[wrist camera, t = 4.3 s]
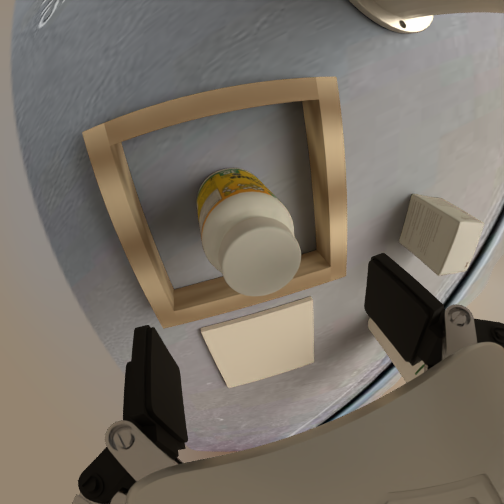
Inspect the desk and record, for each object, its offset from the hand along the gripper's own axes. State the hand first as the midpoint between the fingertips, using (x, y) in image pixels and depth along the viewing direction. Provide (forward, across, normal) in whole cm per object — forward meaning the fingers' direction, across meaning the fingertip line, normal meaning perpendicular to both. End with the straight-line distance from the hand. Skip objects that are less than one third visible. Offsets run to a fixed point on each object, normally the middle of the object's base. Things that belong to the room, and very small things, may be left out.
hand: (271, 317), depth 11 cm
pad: (+13, -1, +18) cm, 22 cm away
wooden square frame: (+12, -1, -1) cm, 13 cm away
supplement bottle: (+13, -1, -1) cm, 13 cm away
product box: (+12, -22, +6) cm, 26 cm away
